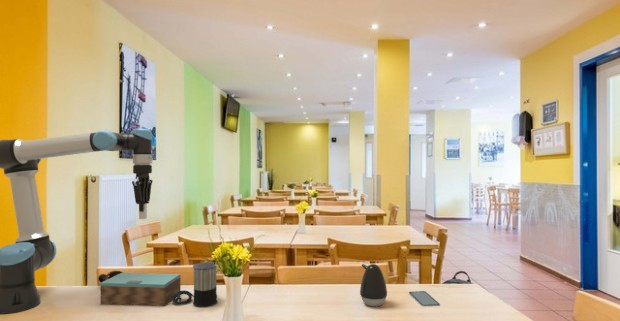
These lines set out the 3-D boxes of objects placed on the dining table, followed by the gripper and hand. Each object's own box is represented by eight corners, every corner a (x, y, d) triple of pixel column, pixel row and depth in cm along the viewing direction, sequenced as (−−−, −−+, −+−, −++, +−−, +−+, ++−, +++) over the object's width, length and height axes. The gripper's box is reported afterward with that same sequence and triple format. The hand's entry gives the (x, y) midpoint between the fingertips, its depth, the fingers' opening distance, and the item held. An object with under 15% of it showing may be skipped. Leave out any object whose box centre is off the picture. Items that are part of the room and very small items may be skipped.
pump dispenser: (370, 297, 158) (370, 259, 158) (392, 304, 151) (392, 264, 151) (354, 304, 151) (353, 264, 151) (376, 311, 144) (376, 269, 144)
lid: (100, 286, 153) (100, 282, 153) (121, 275, 167) (121, 272, 167) (164, 287, 150) (164, 283, 150) (180, 277, 164) (180, 273, 164)
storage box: (100, 304, 153) (100, 286, 153) (121, 292, 167) (121, 275, 167) (164, 306, 150) (164, 287, 150) (180, 293, 164) (180, 277, 164)
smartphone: (422, 305, 148) (407, 291, 163) (422, 308, 148) (408, 294, 163) (440, 304, 149) (425, 290, 164) (441, 307, 149) (425, 293, 164)
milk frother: (220, 304, 152) (220, 266, 152) (178, 313, 144) (178, 272, 144) (210, 294, 164) (209, 258, 164) (170, 301, 156) (170, 263, 156)
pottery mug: (128, 284, 180) (130, 270, 176) (119, 300, 171) (120, 286, 168) (101, 278, 179) (102, 264, 175) (91, 294, 170) (92, 280, 167)
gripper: (142, 164, 164) (143, 221, 164) (158, 164, 177) (158, 216, 177) (125, 164, 165) (126, 221, 165) (142, 164, 178) (142, 216, 178)
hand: (142, 218), depth 171 cm, fingers closed
